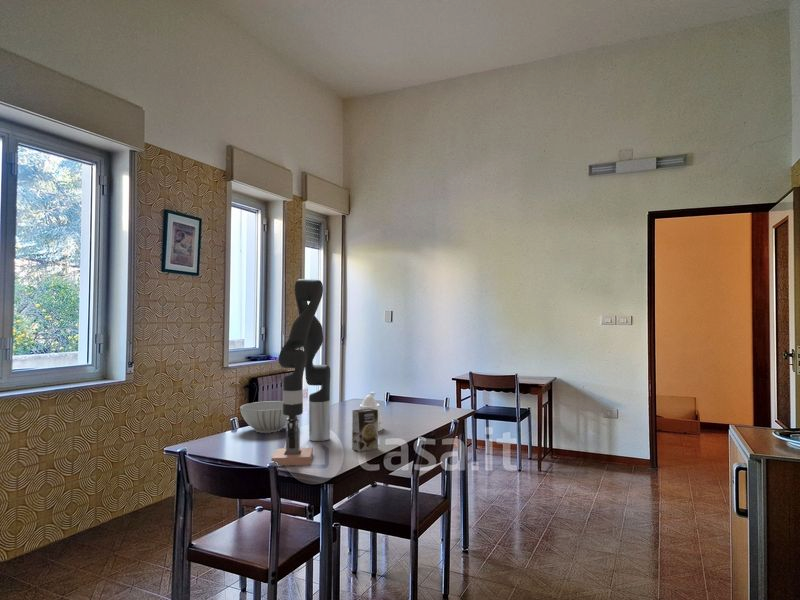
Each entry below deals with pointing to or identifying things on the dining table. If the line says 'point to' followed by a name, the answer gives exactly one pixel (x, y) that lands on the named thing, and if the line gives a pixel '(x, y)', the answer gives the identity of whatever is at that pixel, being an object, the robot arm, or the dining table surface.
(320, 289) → the robot arm
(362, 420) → the coffee box
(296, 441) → the plug
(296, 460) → the socket
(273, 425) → the decorative bowl
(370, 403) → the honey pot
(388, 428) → the dining table surface
